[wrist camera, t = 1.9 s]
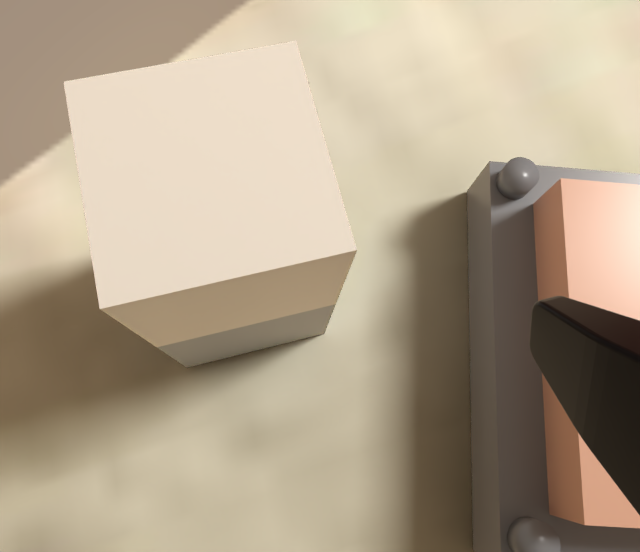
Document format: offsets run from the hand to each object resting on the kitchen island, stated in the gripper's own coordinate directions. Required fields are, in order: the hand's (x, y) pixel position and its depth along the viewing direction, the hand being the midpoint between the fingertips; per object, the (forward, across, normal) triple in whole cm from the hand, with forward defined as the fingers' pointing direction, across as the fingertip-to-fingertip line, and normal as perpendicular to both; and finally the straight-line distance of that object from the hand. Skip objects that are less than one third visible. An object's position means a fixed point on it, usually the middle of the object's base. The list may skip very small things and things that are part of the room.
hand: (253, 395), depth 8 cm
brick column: (+12, 0, +5) cm, 12 cm away
